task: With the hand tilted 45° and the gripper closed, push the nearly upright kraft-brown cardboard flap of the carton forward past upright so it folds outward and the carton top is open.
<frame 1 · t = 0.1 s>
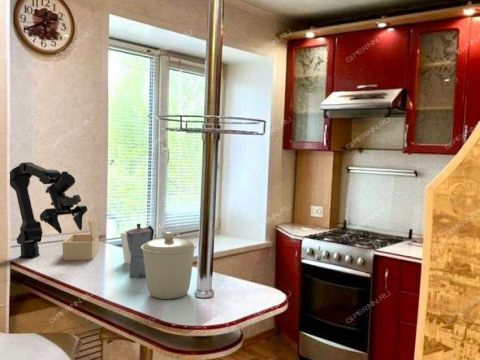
hand: (71, 231, 183), 15 cm above the counter, tool tilted 30°, fingers open, 9 cm apart
canister: (168, 295, 152), on the counter
foam cup: (132, 262, 194), on the counter
carton flap: (93, 227, 205), point 13 cm above the counter, hinge at 80.0°
carton: (82, 255, 205), on the counter
moka pot: (141, 274, 175), on the counter
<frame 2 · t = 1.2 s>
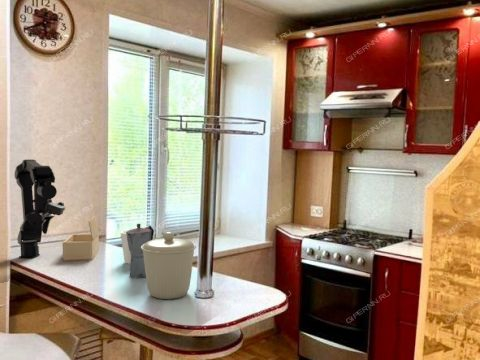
hand: (42, 235, 184), 13 cm above the counter, tool pointing down, fingers open, 5 cm apart
nothing on the counter moved.
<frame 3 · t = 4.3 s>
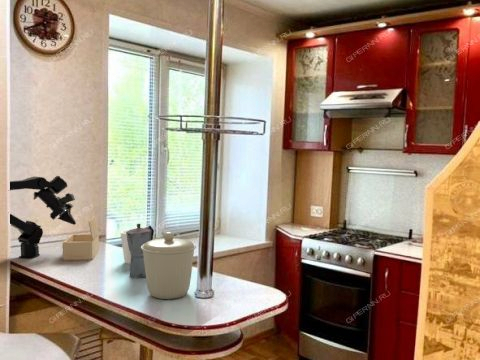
hand: (75, 224, 209), 13 cm above the counter, tool tilted 45°, fingers closed
nothing on the counter moved.
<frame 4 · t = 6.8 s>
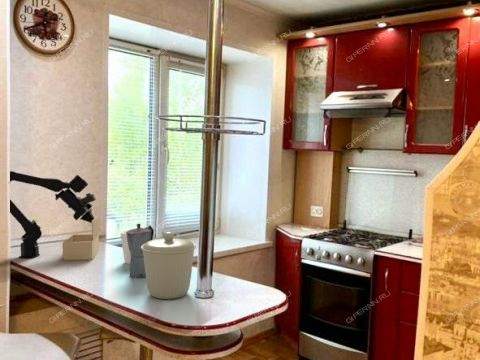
hand: (96, 223, 211), 13 cm above the counter, tool tilted 45°, fingers closed, pressing on carton flap
carton flap: (95, 227, 205), point 13 cm above the counter, hinge at 89.0°, touching gripper
everything else where it was.
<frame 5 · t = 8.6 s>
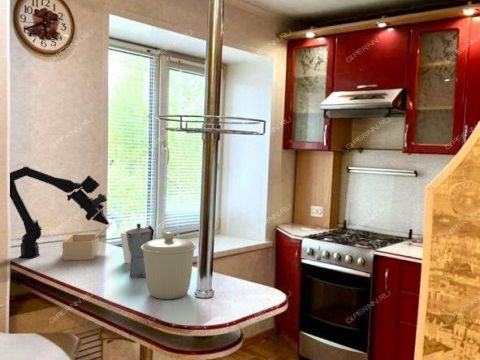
hand: (108, 224, 212), 13 cm above the counter, tool tilted 45°, fingers closed
carton flap: (103, 230, 206), point 11 cm above the counter, hinge at 138.2°
everything else where it was.
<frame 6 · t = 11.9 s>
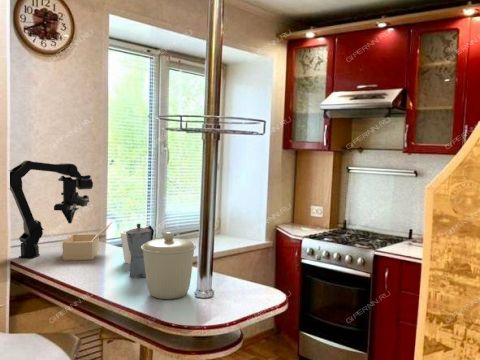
hand: (70, 223, 213), 13 cm above the counter, tool pointing down, fingers closed
nothing on the counter moved.
at the end: carton flap at +138° (first picture: +80°) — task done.
